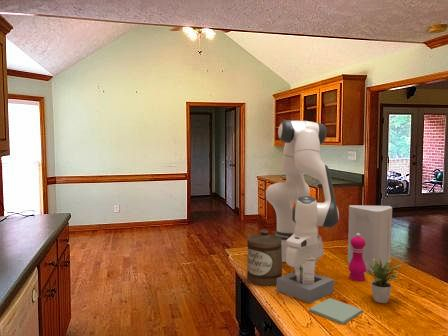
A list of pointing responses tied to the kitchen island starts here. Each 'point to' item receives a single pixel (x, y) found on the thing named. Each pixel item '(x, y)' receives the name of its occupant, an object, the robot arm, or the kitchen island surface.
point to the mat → (336, 311)
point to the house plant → (382, 280)
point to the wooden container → (264, 259)
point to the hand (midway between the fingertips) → (305, 272)
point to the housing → (305, 287)
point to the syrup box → (307, 271)
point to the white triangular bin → (371, 232)
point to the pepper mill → (357, 259)
